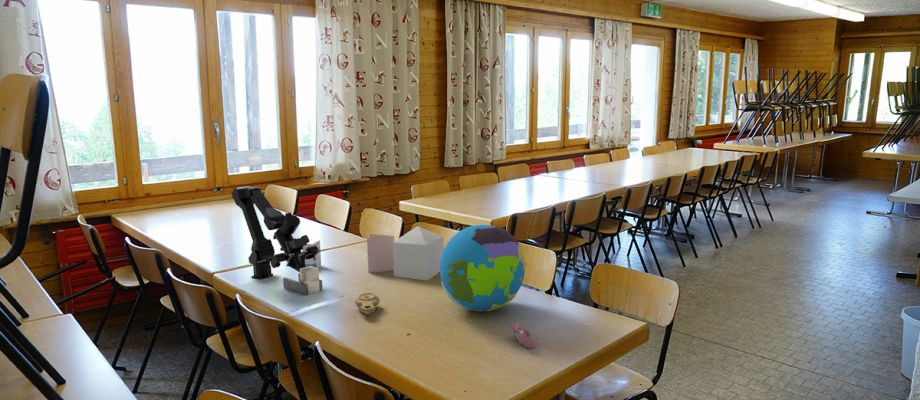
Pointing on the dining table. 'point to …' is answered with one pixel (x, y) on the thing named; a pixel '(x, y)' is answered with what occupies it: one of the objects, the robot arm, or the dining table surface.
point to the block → (310, 278)
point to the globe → (482, 268)
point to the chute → (298, 285)
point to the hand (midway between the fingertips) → (305, 274)
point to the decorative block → (417, 254)
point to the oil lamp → (367, 302)
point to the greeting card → (380, 253)
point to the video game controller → (523, 336)
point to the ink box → (317, 259)
